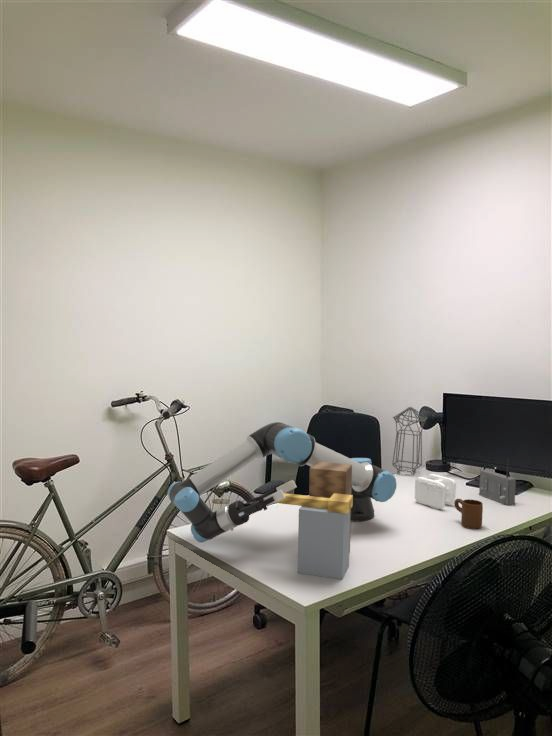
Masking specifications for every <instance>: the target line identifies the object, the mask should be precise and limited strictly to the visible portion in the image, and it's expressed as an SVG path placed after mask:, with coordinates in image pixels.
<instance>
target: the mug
mask: <svg viewBox="0 0 552 736" xmlns="http://www.w3.org/2000/svg"><path fill="white" fill-rule="evenodd" d="M453 505H454V508H455V509H456V510H457V511H458V512H460V514H461V516H460V517H461V518H460V519H461V521H460V522H461V526H463V527H464V528H465V529H466V528H467V529H471V530H479V529H481V528H482V527H483V512H484V511H483V510H484V509H483V508H484V507H483V505H484V504H483V501H480V500H477V499H467V498H466V499H462V498H455V502H454V504H453ZM460 505H461V506H460Z"/></svg>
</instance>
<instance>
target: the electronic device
mask: <svg viewBox="0 0 552 736" xmlns="http://www.w3.org/2000/svg"><path fill="white" fill-rule="evenodd" d="M509 460H510V459H509V458H507V460H506V474H501V473H497V472H495V471H491V470H489V469H482V470H479V490H478V492H479V493H478V495H479V496H481V497H483V498H486V499H490V500H492V501H495V502H497V503H500V504H502V505H506V506H514V505H515V504H516V503H515V502H516V501H515V500H516V486H517V485H516V483H517V482H516V481H517V479H516V478H514V477H511V476H509V466H510V465H509V464H510V463H509V462H510V461H509Z"/></svg>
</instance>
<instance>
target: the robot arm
mask: <svg viewBox="0 0 552 736" xmlns="http://www.w3.org/2000/svg"><path fill="white" fill-rule="evenodd" d="M269 455H274V456H277V457H278V458H280V459H282V460H283V461H285V462H286V463H287V462H288V463H291V464H294V465H296V466H298V467H303V466H305V465H307V466H309V467H311V466H313V465H314V464H315V463H316V462H317V461H318V462H329V463H340V464H351V465H352V487H351V495H353V506H352V508H351V521H354V522H355V521H356V522H357V521H358V522H362V521H368V520H372V519H373V518H375V508H374V504H373V502H372V500H374V501H376V502H380V503H387V502H388V501H389V500H390V499H392V497H394V495H395V492H396V490H397V486H398V485H397V479H396V476H395V474H393V473H392V472H390V471H389V470H385V469H382V468H380V467H378V466H376V465H374V464H373V463H372V459H371V458H368V457H352V458H350V457H348V456H346V455H344V454H342V453H339V452H336V451H335V450H333V449H331V448H328V447H327V446H324V445H322V444H320V443H318V442H316V439H315V437H314V436H313V435H312V434H309V433H307V432H306V431H304V430H303V429H301V428H299V427H295V426H291V425H289V424H286V423H284V422H272V423H268V424H266V425H264V426H262V427H260V428H258V429H257V430H255V431H253V432H252V433H250V434H249V435H248V436H247V437H246V440H245V441H243V442H242V443H241V444H238V446H235V447H234V448H232V449H231V450H229V451H228V452H226V453H225V454H224V455H222V456H220V457H219V458H217V459H216V460H214V461H212V462H211V463H210V464H207V466H205V467H203V468H202V469H200V470H199V471H198V472H196V473H194V474H193V475H191V476H189V477H188V478H186V479H185V480H183V481H175V482H173V483H171V484H170V486H169V487H168V489H167V497H168V499H169V501H170V502H171V503H172V504H173V505H174V507H176V508H177V509H178V510H179V512H181V513H182V514H183V515H184V517H186V519H187V520H188V521H189V522H190V523H191V525H190V532H191V535H192V536H193V539H194V540H195V541H197V542H198V543H205V542H207V541H211V540H213V539H214V538H216V537H218V536H220V535H222V534H224V533H227V532H228V531H231V532H233V531H234V529H235V528H236V527H238V526H241V525H243V524H246V523H247V522H249V520H250V516H251V515H253V514H255V513H257V512H260V511H266V510H268V507H269V506H271V505H273V504H277V503H276V502H278V501H280V500H282V499H284V498H286V497H285V495H284V493H288V492H290V491H292V490H294V489H296V488H298V487H297V485H296V482H295V481H294V479H291V480H290V481H287V482H284V483H283V484H281V485H279V486H277V485H274V488H273V489H271V490H269V491H267V492H265V493H263V494H261V495H259V496H257V497H254V498H252V499H249V500H248V501H246V502H243V501H242V500H240V499H239V500H236V501H234V502H232V503H230V504H227V505H225V506H223V507H221V508H218V509H217V510H216V511H213V510H212V509H211V508H210V507H209V506H208V505H207V503H206V502H205V501H204V500H203V499H202V498H201V496H202V495H204V494H206V493H207V492H208V491H210V490H211V489H213V488H214V487H216V486H217V485H219V484H221V483H222V482H224V481H225V480H226V479H228V478H229V477H230V476H233V474H235V473H237V472H239V471H240V470H242V469H244V468H245V467H246V466H248V465H249V464H250V463H252V462H254V461H255V460H256V459H263V458H265V457H266V456H269Z"/></svg>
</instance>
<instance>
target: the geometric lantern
mask: <svg viewBox="0 0 552 736" xmlns="http://www.w3.org/2000/svg"><path fill="white" fill-rule="evenodd" d="M407 414H408V415H407ZM413 414H414V415H413ZM401 416H403V417H402V418H401ZM410 418H411V419H410ZM413 418H414V419H413ZM392 419H393V420H394V422H395V431H396V435H395V442H394V450H393V456H392V462H391V463H392V466H393V468H395V469H396V470H397V472H396V474H397V475H399V473H400V472H406V473H407V472H408V473H410V475H413V476H414V475H415V474H416V471H417V469H418V468H420V467H421V466H422V465H423V456H422V455H423V454H422V453H423V451H422V450H423V446H422V445H423V443H422V442H423V441H422V435H423V433H422V432H423V429H424V426H425V423H426V422H427V419H428V417H427V416H426V415H425V414H423V413H421V412H420V411H418V410H417V409H416V408H414V407H412V406H408V407H407V408H406V409H404V410H402V411H401V412H399V413H398V414H396V415H394V416H392ZM400 420H401V421H400ZM404 421H405V422H407V424H404ZM419 422H421V423H420V426H418V423H419ZM414 424H415V425H416V427H417V429H418V431H417V430H413V429H412V428H411V426H412V425H414ZM398 425H399V427H400V429H399V430H398ZM403 427H405V428H404V429H403ZM408 427H409V429H407V428H408ZM406 431H407V432H411V433H412V434H411V433H406ZM414 432H416V434H415V433H414ZM399 435H400V437H399ZM402 435H403V440H402ZM406 435H409V436H413V437H412V461H407V460H403V458H404V447H405V436H406ZM415 436H416V462H414V461H415V460H414V457H415ZM401 440H402V441H401ZM401 442H402V448H400V447H401ZM400 449H401V460H399V456H400ZM402 462H403V463H410V464H412V465H411V466H410V467H409V466H403V465H402V464H403V463H402ZM414 464H416V465H415V466H414ZM403 468H405V469H410V470H405V469H404V470H403ZM411 471H412V472H411ZM406 473H404V474H405V475H404V476H408V474H406ZM414 473H415V474H414Z"/></svg>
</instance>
